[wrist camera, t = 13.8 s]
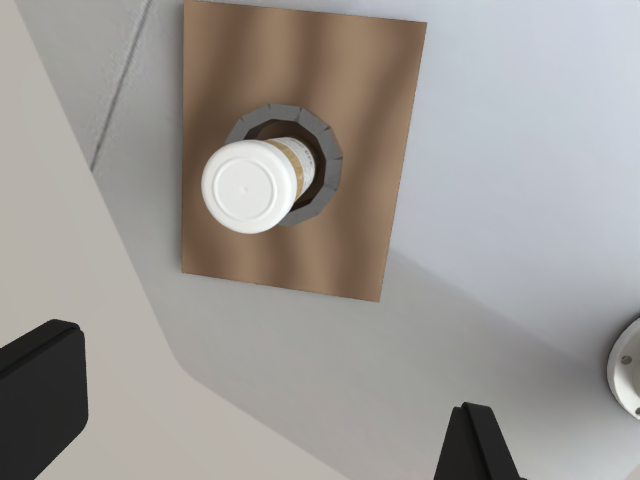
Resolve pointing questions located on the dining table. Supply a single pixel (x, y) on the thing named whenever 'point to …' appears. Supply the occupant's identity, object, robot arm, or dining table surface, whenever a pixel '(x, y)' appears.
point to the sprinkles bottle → (258, 181)
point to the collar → (327, 139)
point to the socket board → (327, 103)
